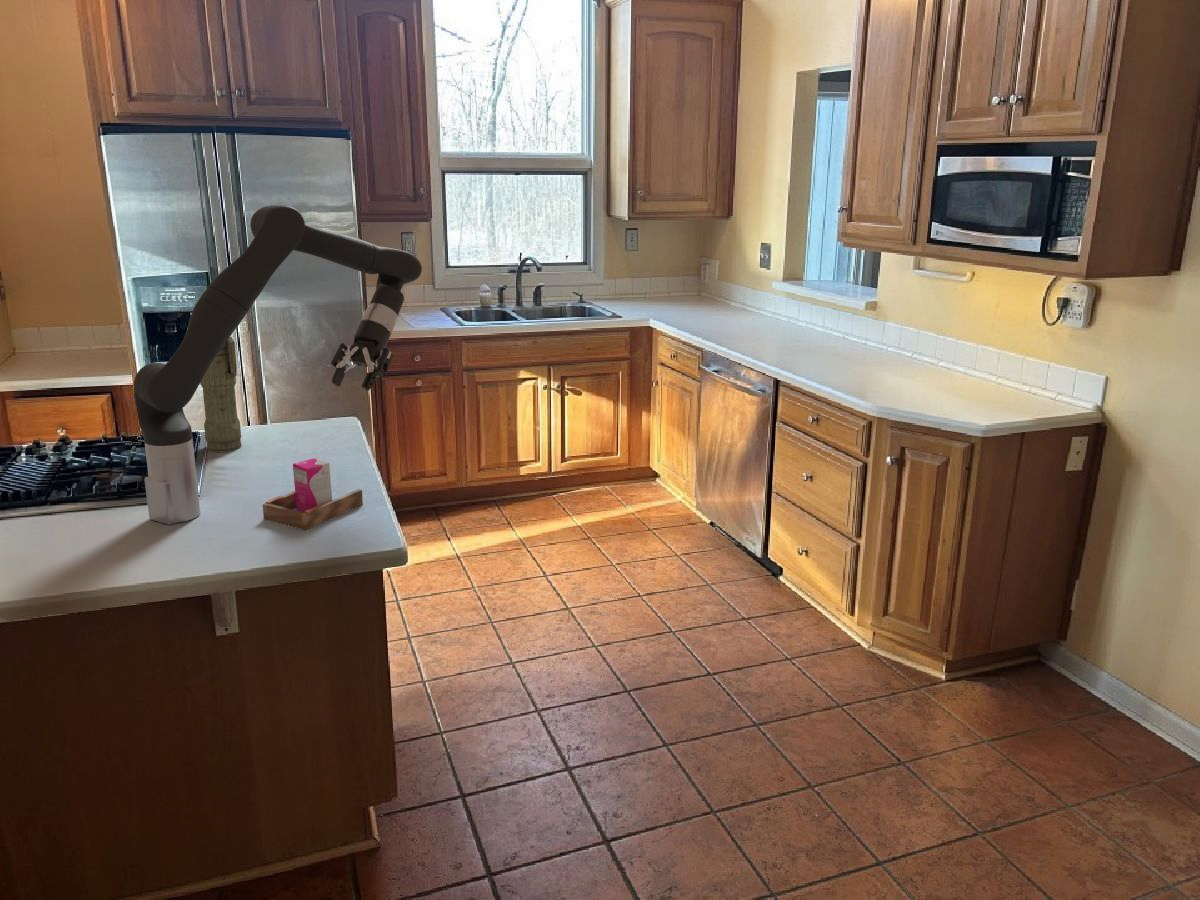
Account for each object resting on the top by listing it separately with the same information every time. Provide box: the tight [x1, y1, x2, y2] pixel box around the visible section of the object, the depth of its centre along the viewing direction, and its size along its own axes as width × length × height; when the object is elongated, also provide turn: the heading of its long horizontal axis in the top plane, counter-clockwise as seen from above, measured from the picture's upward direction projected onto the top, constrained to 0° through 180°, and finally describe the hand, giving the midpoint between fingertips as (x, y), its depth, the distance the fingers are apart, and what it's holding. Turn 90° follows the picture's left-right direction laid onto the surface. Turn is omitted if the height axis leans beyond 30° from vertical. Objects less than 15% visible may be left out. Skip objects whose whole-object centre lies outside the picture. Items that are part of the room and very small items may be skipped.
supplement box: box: [292, 457, 333, 512], centre depth 198 cm, size 6×6×12 cm
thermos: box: [199, 336, 242, 453], centre depth 236 cm, size 9×12×35 cm
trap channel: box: [262, 488, 364, 531], centre depth 199 cm, size 18×12×4 cm, turn 154°
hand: (350, 386), depth 206 cm, fingers open, 8 cm apart
